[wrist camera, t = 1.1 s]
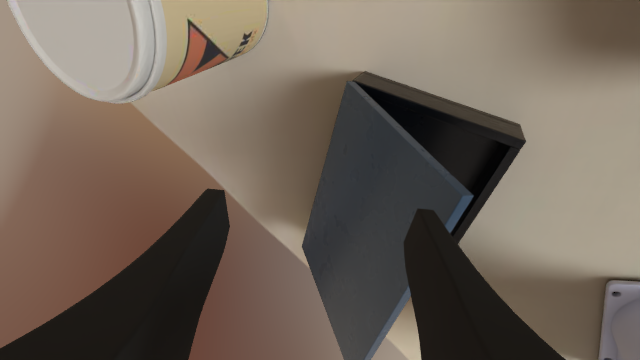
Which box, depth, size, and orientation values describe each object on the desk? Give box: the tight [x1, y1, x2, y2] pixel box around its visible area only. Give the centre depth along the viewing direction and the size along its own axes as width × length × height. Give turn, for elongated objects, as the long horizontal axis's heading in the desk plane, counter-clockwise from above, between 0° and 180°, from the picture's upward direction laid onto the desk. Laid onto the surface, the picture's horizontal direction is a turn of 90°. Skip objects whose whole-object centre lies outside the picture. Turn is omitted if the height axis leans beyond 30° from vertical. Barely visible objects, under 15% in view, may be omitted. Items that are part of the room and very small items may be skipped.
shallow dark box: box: [352, 71, 526, 244], centre depth 25 cm, size 11×15×3 cm
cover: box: [302, 81, 473, 360], centre depth 21 cm, size 11×15×1 cm
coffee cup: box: [7, 0, 268, 104], centre depth 20 cm, size 9×9×12 cm
